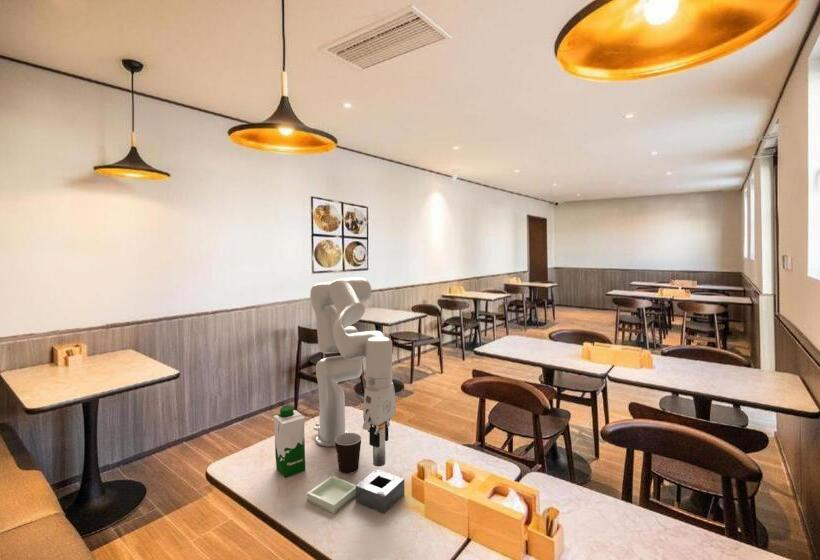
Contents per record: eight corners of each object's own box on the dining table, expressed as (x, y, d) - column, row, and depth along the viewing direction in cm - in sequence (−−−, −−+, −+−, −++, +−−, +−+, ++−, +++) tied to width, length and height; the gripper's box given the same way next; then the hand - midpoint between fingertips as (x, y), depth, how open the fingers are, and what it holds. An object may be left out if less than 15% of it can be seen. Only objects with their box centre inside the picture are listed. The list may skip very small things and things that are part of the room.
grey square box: (355, 502, 113) (355, 485, 113) (376, 484, 121) (376, 468, 121) (384, 514, 108) (384, 496, 107) (404, 495, 116) (404, 478, 116)
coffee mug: (356, 476, 126) (356, 446, 125) (331, 474, 127) (330, 443, 127) (367, 458, 137) (367, 430, 136) (344, 455, 139) (343, 428, 138)
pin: (370, 464, 114) (370, 423, 113) (378, 458, 117) (377, 419, 116) (380, 467, 112) (380, 426, 111) (387, 462, 115) (387, 422, 114)
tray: (307, 501, 113) (306, 493, 113) (332, 483, 122) (332, 475, 122) (334, 513, 108) (334, 505, 108) (358, 494, 117) (358, 485, 117)
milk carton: (297, 459, 136) (296, 403, 135) (309, 470, 129) (308, 411, 128) (272, 468, 131) (270, 409, 129) (283, 481, 124) (281, 418, 122)
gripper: (371, 392, 103) (371, 459, 105) (405, 374, 117) (405, 434, 119) (349, 387, 107) (350, 451, 109) (385, 370, 121) (385, 428, 123)
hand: (379, 442), depth 114 cm, fingers closed on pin, 3 cm apart
